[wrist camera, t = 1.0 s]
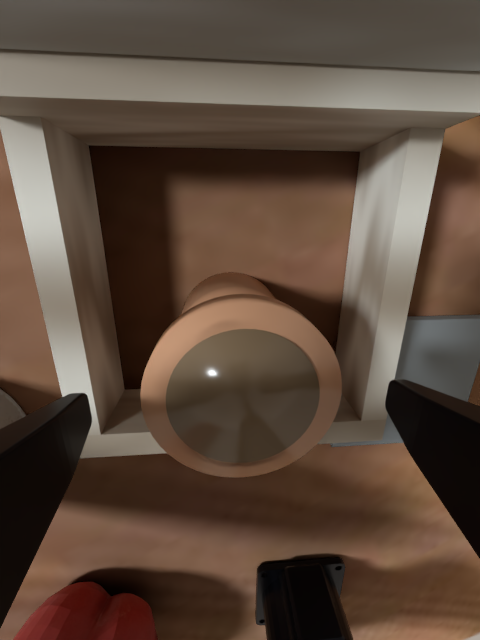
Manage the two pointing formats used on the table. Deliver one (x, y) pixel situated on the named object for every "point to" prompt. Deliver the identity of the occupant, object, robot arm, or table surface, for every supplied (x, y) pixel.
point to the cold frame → (230, 133)
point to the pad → (436, 360)
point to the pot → (239, 381)
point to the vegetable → (90, 616)
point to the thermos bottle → (9, 410)
